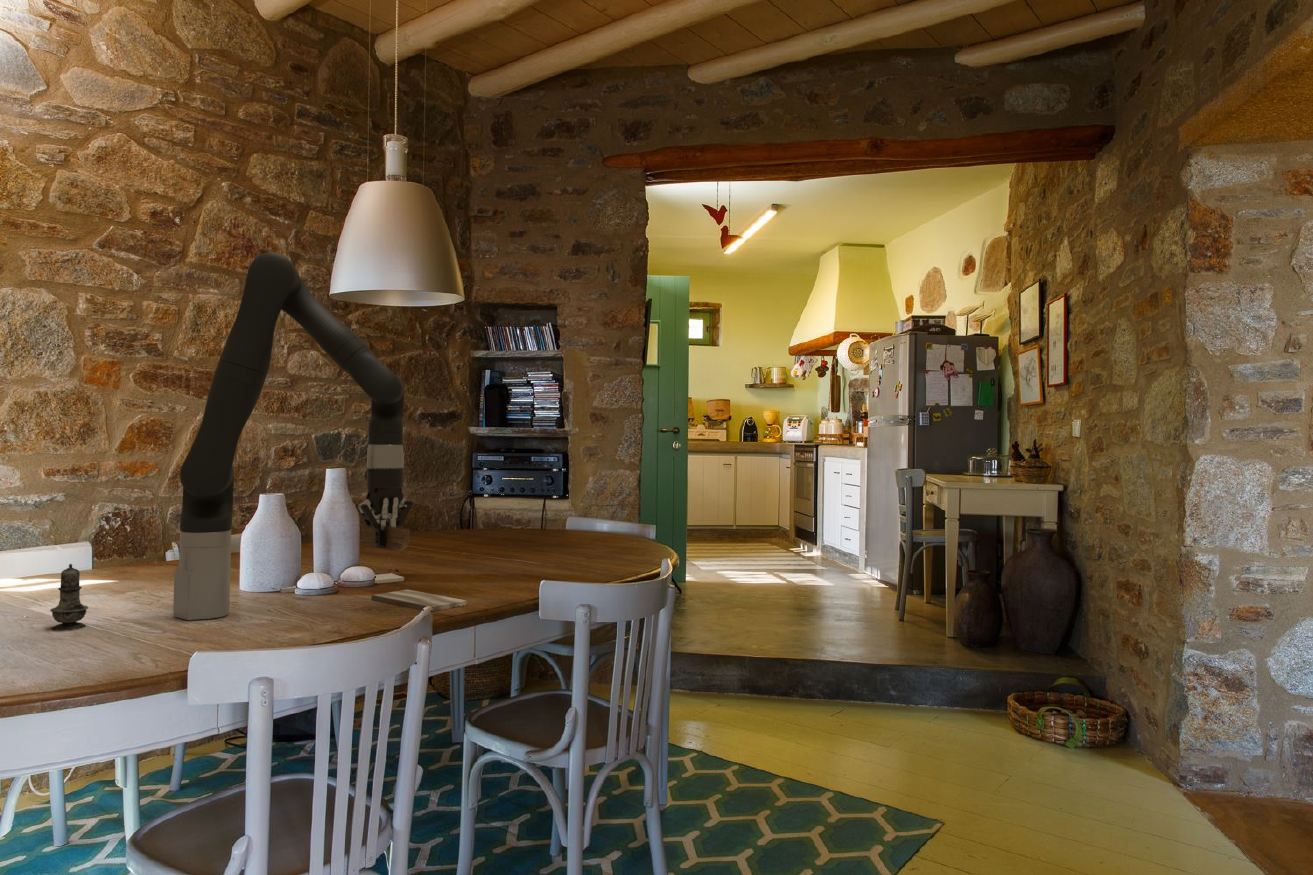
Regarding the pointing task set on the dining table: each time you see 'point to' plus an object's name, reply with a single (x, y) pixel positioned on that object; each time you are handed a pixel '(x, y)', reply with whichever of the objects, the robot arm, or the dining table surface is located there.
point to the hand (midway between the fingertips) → (384, 547)
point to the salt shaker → (69, 602)
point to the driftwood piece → (387, 538)
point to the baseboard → (379, 579)
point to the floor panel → (418, 600)
